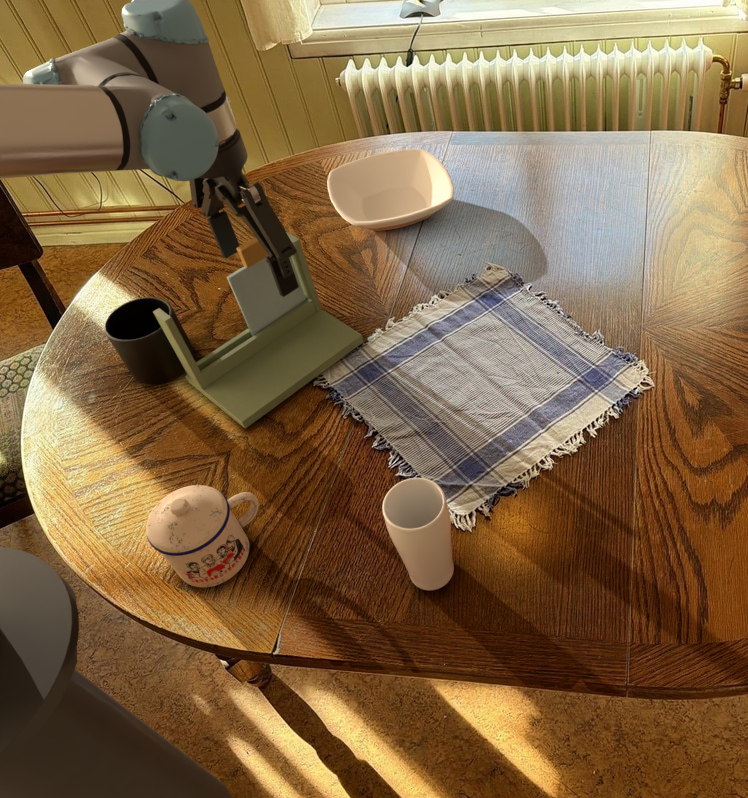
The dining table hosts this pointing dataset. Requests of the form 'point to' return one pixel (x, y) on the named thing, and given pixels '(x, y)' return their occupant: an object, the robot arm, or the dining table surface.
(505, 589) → the dining table surface
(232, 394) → the window frame
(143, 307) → the mug
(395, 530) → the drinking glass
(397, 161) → the bowl
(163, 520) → the teacup with lid
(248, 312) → the panel
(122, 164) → the robot arm
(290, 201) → the dining table surface
